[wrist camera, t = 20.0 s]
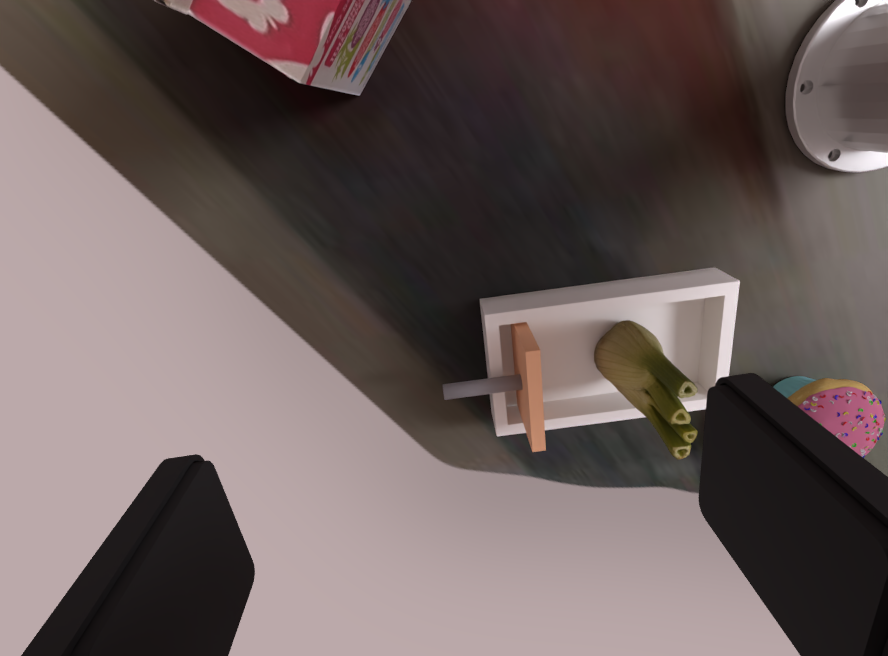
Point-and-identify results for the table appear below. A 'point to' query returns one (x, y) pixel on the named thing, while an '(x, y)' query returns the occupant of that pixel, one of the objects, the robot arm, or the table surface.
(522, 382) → the pusher
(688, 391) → the fennel bulb
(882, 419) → the cupcake
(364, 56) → the juice carton
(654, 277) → the white tray
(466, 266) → the table surface
